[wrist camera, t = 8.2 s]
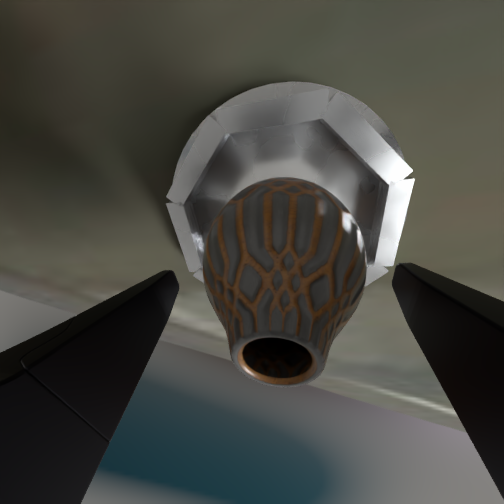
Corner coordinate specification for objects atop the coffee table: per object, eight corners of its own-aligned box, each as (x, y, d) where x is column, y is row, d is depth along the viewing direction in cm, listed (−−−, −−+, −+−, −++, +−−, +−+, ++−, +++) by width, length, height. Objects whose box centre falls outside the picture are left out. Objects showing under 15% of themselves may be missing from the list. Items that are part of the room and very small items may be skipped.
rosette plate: (432, 56, 9) (473, 35, 7) (377, 299, 16) (390, 322, 14) (146, 112, 11) (119, 108, 10) (206, 299, 18) (197, 318, 16)
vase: (322, 278, 14) (363, 443, 7) (225, 263, 15) (163, 399, 7) (358, 175, 11) (538, 280, 3) (229, 159, 11) (112, 215, 4)
